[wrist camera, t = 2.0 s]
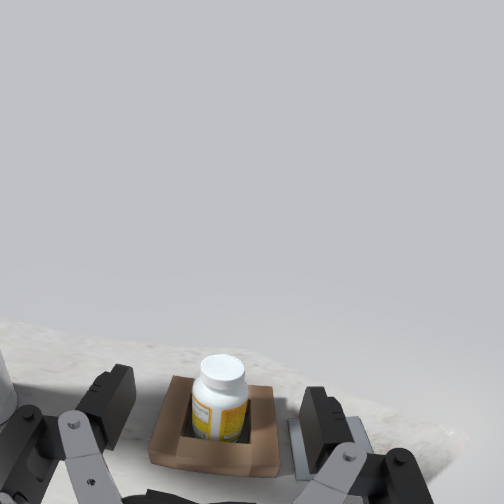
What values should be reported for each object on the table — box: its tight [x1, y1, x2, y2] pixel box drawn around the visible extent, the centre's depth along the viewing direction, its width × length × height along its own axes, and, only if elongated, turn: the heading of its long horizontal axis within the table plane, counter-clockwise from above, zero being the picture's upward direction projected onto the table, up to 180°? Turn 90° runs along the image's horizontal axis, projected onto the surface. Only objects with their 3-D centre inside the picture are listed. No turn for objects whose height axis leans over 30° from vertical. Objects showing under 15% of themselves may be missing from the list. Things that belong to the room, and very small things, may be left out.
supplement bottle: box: [192, 354, 249, 443], centre depth 26 cm, size 5×5×10 cm
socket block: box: [148, 375, 280, 478], centre depth 26 cm, size 12×12×2 cm
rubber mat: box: [288, 416, 374, 481], centre depth 25 cm, size 9×9×1 cm
